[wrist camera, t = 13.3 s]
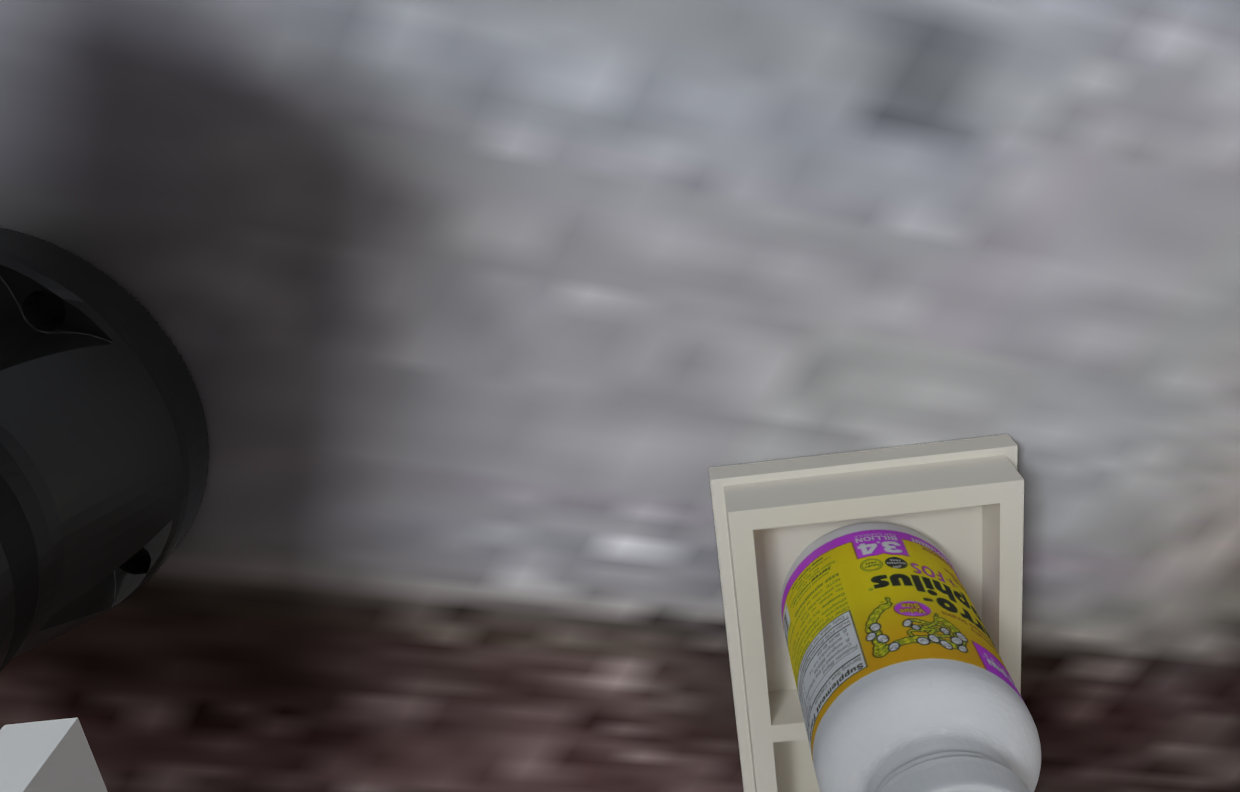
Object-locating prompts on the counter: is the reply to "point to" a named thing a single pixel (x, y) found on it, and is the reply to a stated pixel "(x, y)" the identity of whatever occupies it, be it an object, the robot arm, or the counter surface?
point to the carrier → (830, 499)
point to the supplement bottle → (900, 670)
